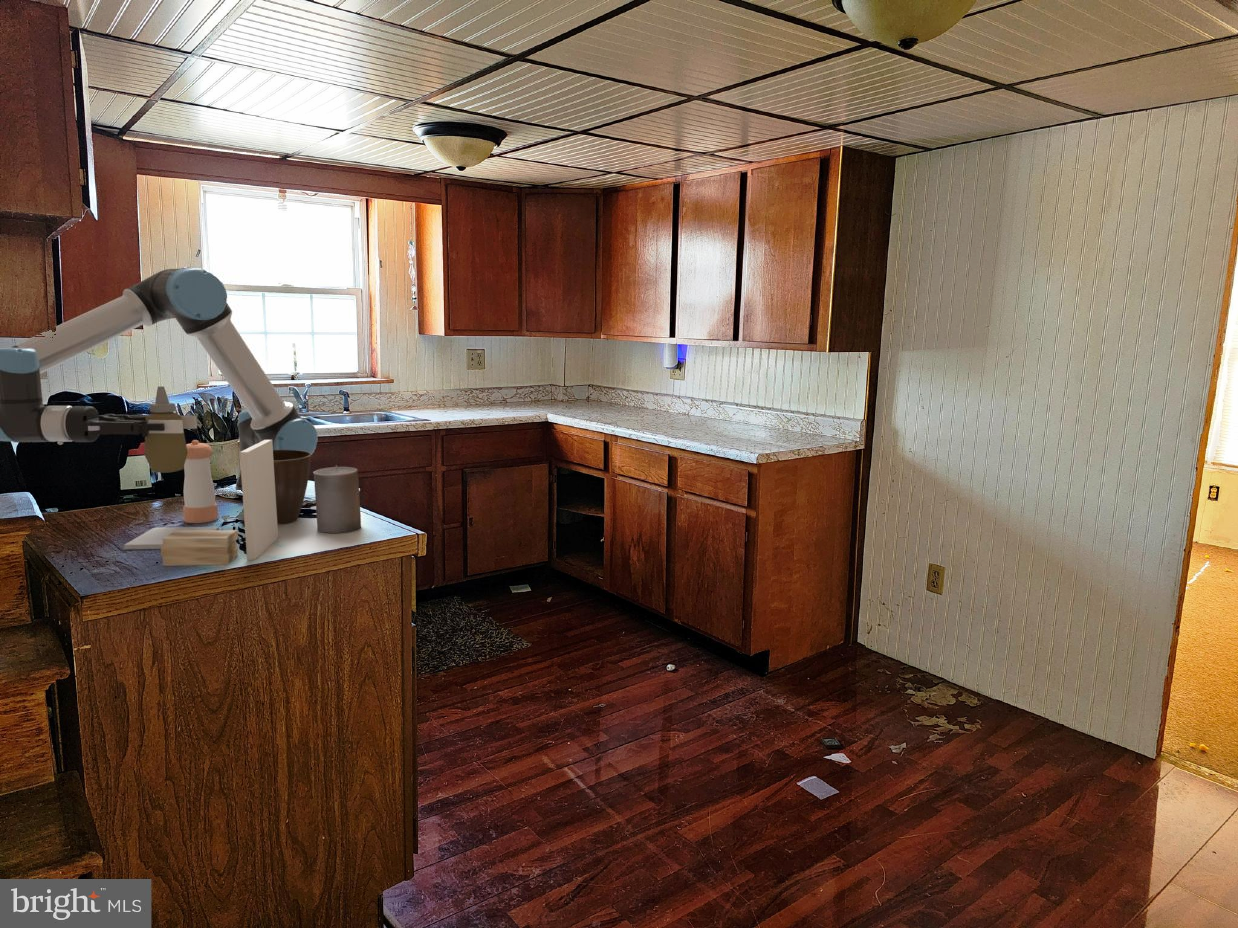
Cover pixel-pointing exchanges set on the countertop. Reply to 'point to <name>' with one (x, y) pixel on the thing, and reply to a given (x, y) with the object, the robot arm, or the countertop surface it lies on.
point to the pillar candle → (337, 499)
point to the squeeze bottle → (164, 438)
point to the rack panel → (259, 498)
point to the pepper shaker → (199, 485)
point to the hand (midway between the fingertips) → (189, 424)
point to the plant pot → (290, 482)
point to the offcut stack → (199, 547)
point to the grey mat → (158, 537)
